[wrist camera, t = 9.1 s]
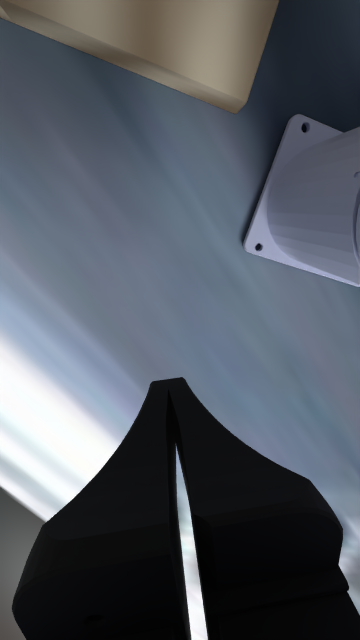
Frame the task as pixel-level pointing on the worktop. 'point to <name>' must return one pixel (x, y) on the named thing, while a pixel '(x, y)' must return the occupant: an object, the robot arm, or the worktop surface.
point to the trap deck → (162, 39)
